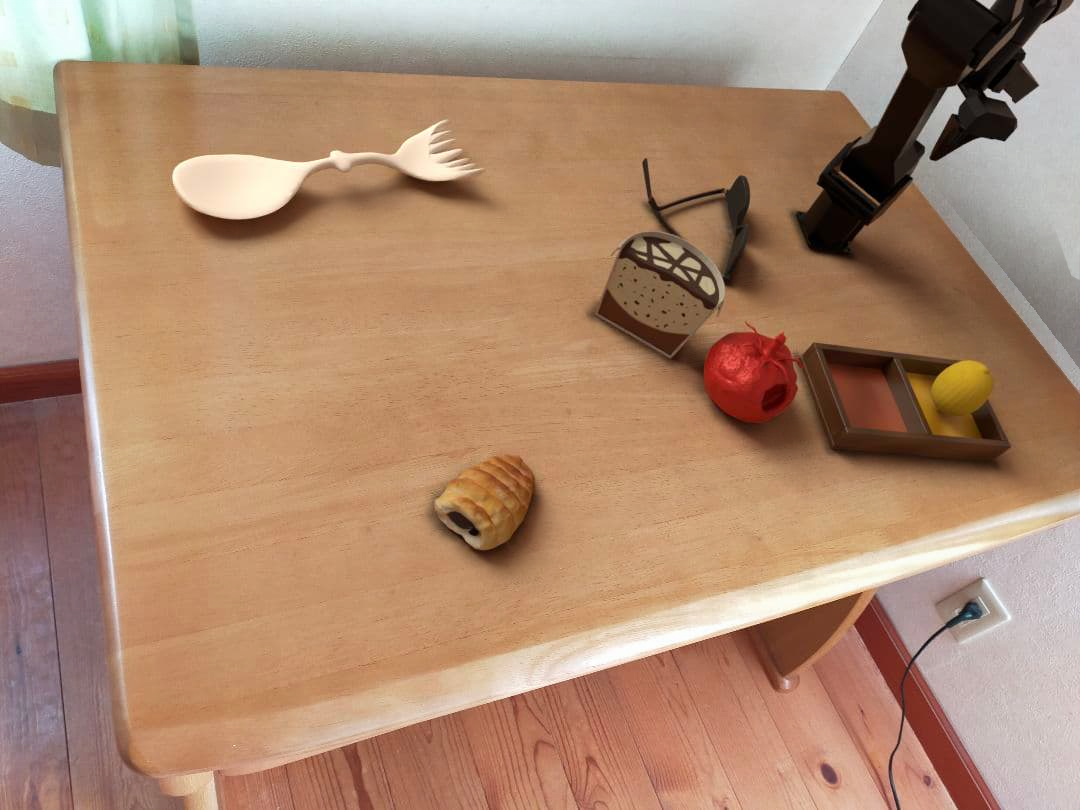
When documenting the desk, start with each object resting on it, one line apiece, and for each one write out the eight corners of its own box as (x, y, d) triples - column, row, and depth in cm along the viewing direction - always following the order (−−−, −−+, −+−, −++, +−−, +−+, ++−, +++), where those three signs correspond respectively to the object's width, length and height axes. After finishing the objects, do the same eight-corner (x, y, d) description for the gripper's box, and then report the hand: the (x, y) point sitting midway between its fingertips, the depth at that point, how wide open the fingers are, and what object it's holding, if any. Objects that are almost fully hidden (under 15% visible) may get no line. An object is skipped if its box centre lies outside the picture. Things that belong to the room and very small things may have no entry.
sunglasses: (634, 160, 112) (650, 129, 108) (736, 199, 114) (755, 170, 110) (622, 246, 101) (639, 215, 98) (735, 287, 104) (756, 258, 100)
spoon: (480, 192, 99) (488, 168, 96) (192, 239, 82) (192, 212, 80) (443, 138, 102) (450, 114, 100) (159, 174, 86) (158, 146, 83)
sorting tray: (830, 448, 93) (847, 432, 91) (798, 359, 100) (813, 342, 97) (992, 461, 100) (1012, 447, 98) (952, 377, 107) (969, 361, 104)
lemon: (961, 435, 100) (1012, 395, 94) (918, 419, 99) (967, 377, 93) (956, 399, 103) (1004, 358, 97) (914, 383, 103) (961, 340, 96)
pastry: (490, 448, 79) (502, 424, 76) (548, 495, 78) (563, 473, 75) (425, 513, 73) (435, 491, 70) (487, 565, 72) (500, 545, 70)
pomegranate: (676, 392, 91) (718, 335, 84) (715, 342, 97) (757, 285, 90) (754, 450, 89) (804, 398, 82) (789, 396, 96) (838, 343, 89)
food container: (699, 331, 97) (743, 269, 90) (682, 366, 93) (727, 304, 86) (602, 275, 97) (638, 208, 90) (582, 307, 93) (617, 240, 86)
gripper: (1094, 92, 100) (997, 195, 112) (1023, -1, 110) (941, 103, 122) (1019, 72, 96) (926, 181, 108) (953, -22, 106) (875, 87, 118)
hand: (919, 136), depth 114 cm, fingers open, 9 cm apart
